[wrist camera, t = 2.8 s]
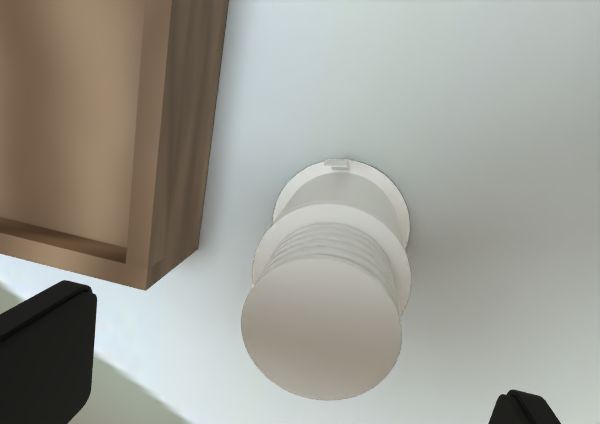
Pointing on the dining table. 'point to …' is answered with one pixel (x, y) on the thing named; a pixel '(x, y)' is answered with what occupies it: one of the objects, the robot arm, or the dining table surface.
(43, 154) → the walnut stand
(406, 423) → the dining table surface
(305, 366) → the downlight
